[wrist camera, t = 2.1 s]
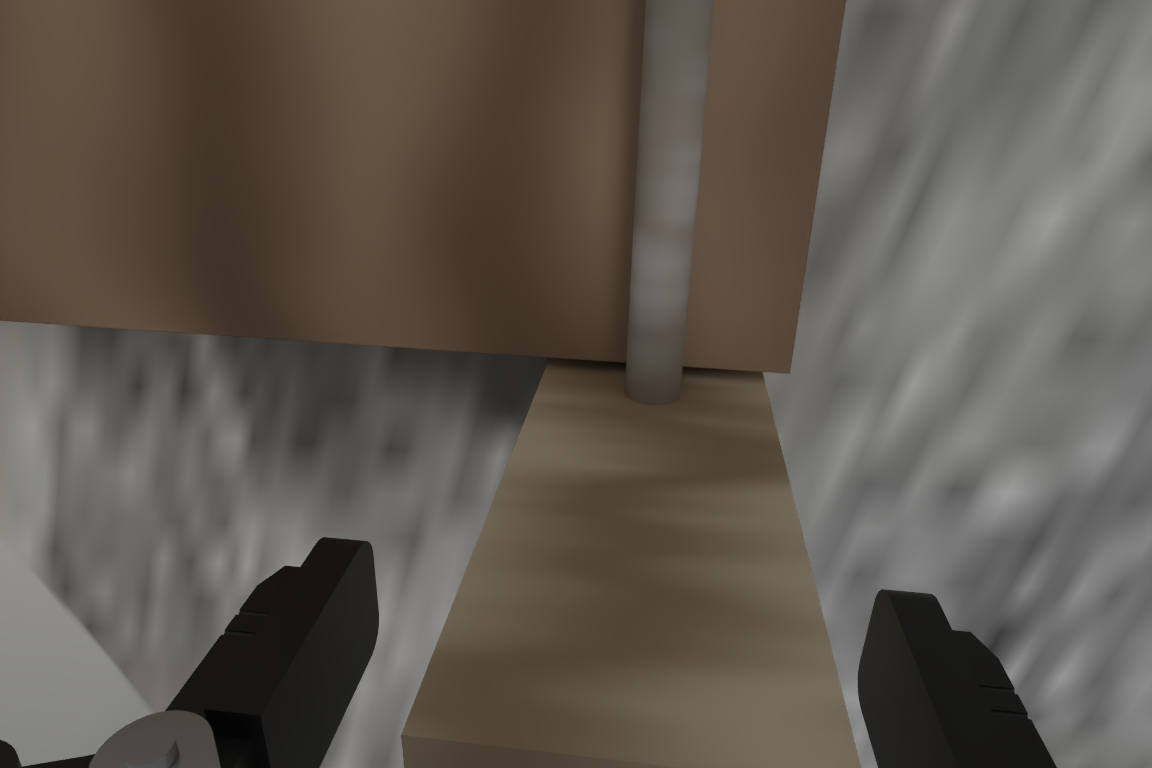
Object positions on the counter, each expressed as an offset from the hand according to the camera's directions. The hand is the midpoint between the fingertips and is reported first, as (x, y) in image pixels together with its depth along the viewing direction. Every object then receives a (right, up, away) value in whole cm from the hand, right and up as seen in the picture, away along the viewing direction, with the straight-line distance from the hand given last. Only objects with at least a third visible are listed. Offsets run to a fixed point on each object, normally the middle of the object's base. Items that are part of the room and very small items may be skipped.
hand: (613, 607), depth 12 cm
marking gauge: (+1, +7, +5) cm, 9 cm away
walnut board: (-7, +11, +5) cm, 14 cm away
